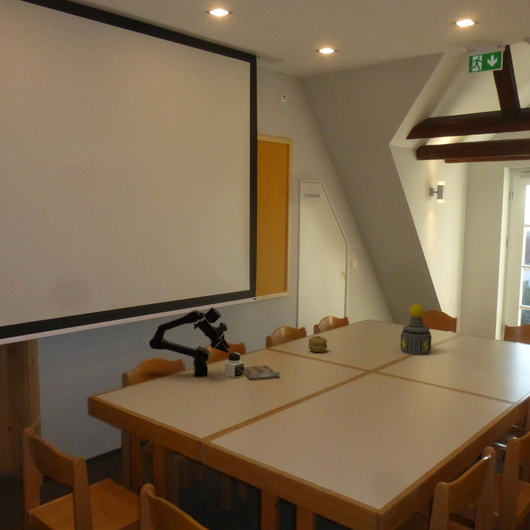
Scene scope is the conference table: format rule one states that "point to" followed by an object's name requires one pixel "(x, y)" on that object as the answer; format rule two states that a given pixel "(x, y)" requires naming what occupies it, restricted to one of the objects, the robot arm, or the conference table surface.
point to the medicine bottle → (234, 366)
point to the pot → (317, 344)
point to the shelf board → (258, 371)
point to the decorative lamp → (416, 334)
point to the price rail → (264, 375)
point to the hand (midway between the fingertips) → (228, 350)
